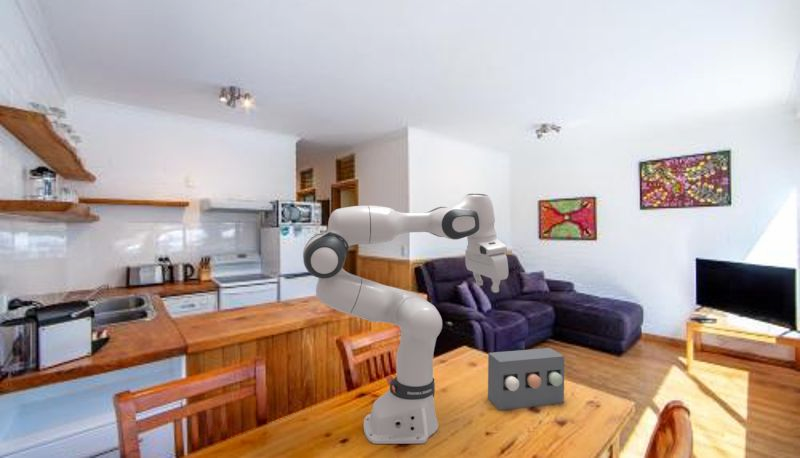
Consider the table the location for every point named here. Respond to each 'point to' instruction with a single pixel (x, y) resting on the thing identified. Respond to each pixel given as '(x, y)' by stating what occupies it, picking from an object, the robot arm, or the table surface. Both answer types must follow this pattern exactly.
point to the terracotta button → (533, 381)
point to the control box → (524, 378)
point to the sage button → (555, 378)
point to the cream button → (511, 383)
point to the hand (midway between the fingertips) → (487, 288)
